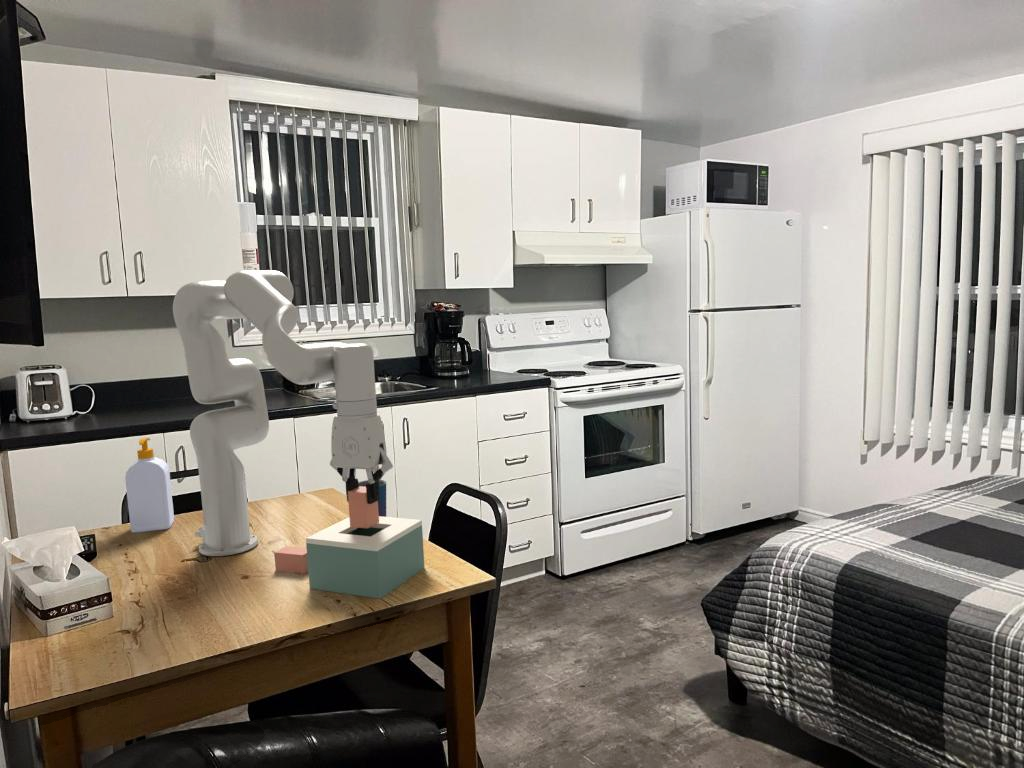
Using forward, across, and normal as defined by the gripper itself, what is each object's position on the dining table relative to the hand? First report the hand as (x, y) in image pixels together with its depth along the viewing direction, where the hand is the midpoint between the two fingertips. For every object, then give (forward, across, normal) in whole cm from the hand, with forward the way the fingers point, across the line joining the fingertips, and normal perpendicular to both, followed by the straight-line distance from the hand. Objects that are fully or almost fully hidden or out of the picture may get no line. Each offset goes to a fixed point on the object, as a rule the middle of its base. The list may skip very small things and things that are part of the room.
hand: (363, 500), depth 143 cm
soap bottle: (+16, -73, +12) cm, 76 cm away
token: (+16, -18, 0) cm, 24 cm away
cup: (+16, -8, +14) cm, 23 cm away
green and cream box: (+16, 0, 0) cm, 16 cm away
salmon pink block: (+5, 0, 0) cm, 5 cm away
